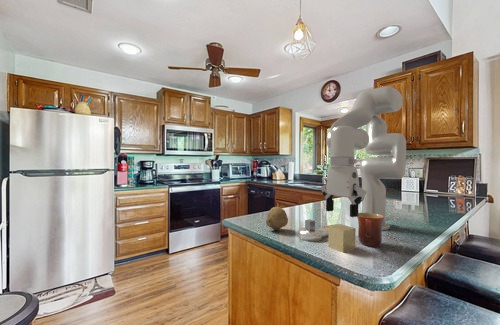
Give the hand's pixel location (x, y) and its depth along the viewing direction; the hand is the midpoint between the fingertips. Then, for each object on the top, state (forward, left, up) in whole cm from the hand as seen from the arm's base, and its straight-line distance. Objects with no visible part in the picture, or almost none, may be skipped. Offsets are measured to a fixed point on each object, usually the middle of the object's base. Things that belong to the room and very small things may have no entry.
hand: (341, 213), depth 75 cm
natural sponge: (+7, -26, -12) cm, 30 cm away
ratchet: (-5, -13, -12) cm, 18 cm away
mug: (-11, +3, -12) cm, 17 cm away
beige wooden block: (-1, 0, -12) cm, 12 cm away
